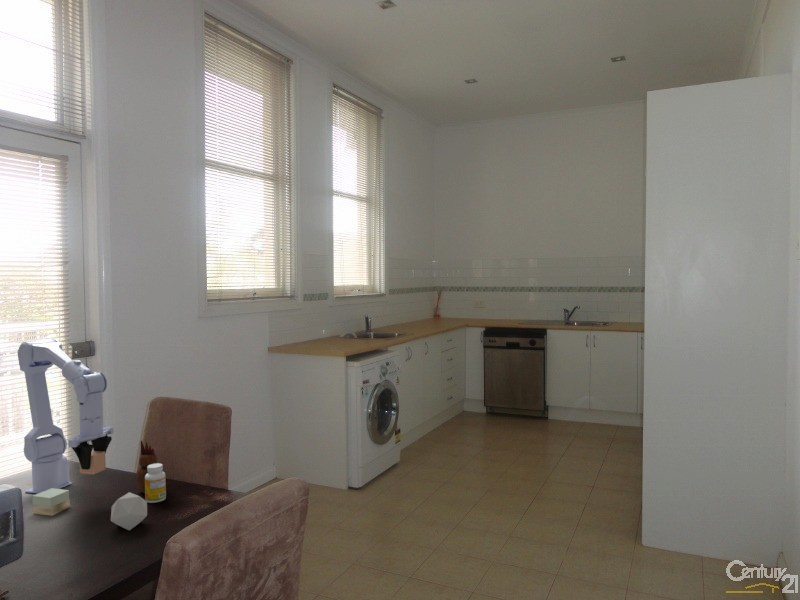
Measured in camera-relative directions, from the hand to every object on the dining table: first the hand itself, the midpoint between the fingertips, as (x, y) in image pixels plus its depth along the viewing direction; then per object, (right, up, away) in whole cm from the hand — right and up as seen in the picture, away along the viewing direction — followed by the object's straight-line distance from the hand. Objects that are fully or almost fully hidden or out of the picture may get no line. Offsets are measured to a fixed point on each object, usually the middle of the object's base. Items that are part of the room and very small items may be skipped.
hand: (92, 466), depth 164 cm
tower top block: (-9, -9, -4) cm, 13 cm away
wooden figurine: (+12, -10, +9) cm, 18 cm away
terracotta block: (0, -1, 0) cm, 2 cm away
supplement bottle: (+16, -10, +3) cm, 20 cm away
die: (+17, -11, -15) cm, 25 cm away
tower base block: (-9, -11, -4) cm, 15 cm away
